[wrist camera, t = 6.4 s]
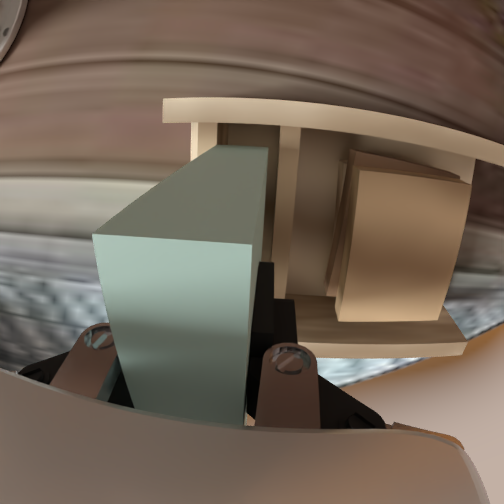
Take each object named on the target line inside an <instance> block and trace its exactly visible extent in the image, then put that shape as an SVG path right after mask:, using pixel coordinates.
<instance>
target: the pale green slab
mask: <svg viewBox="0 0 504 504" xmlns="http://www.w3.org/2000/svg"><path fill="white" fill-rule="evenodd" d="M267 163H268V147H258V146H238V145H215V146H214V147H212V148H211V149H209V150H208V151H206V152H205V153H203V154H201V155H200V156H198V157H197V158H195V159H194V160H192V161H191V162H189V163H188V164H186V165H185V166H183V167H182V168H180V169H179V170H177V171H176V172H174V173H173V174H172V175H170V176H169V177H167V178H166V179H164V180H163V181H161V182H160V183H159V184H157V185H156V186H154V187H153V188H152V189H150V190H149V191H147V192H146V193H145V194H143V195H142V196H141V197H139V198H138V199H136V200H135V201H134V202H132V203H131V204H130V205H128V206H127V207H126V208H124V209H123V210H122V211H121V212H119V213H118V214H117V215H115V216H114V217H113V218H111V219H110V220H109V221H108V222H106V223H105V224H104V225H103V226H101V227H100V228H99V229H97V230H96V231H95V232H94V233H93V234H92V237H93V244H94V250H95V256H96V262H97V267H98V273H99V278H100V283H101V288H102V293H103V297H104V302H105V306H106V311H107V315H108V319H109V323H110V327H111V331H112V335H113V339H114V343H115V347H116V350H117V354H118V357H119V361H120V364H121V368H122V371H123V374H124V377H125V381H126V384H127V387H128V390H129V393H130V396H131V399H132V402H133V405H134V408H135V409H138V410H143V411H148V412H153V413H158V414H164V415H169V416H175V417H181V418H188V419H194V420H202V421H209V422H217V423H225V424H235V425H246V422H247V412H246V407H247V404H246V403H247V387H248V371H249V355H250V339H251V327H252V318H253V309H254V301H255V292H256V283H257V273H258V265H259V261H261V256H262V241H263V226H264V211H265V195H266V179H267Z"/></svg>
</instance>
